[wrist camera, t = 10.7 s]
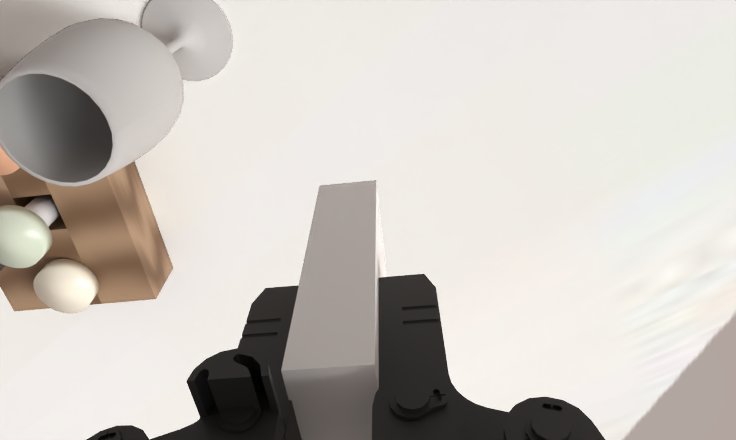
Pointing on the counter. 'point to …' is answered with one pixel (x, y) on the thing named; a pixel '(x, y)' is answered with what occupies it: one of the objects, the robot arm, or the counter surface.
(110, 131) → the wineglass
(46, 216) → the knob mid
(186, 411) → the counter surface
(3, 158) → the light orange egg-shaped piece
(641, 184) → the counter surface
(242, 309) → the counter surface
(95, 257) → the brown wooden holder block
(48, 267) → the knob
